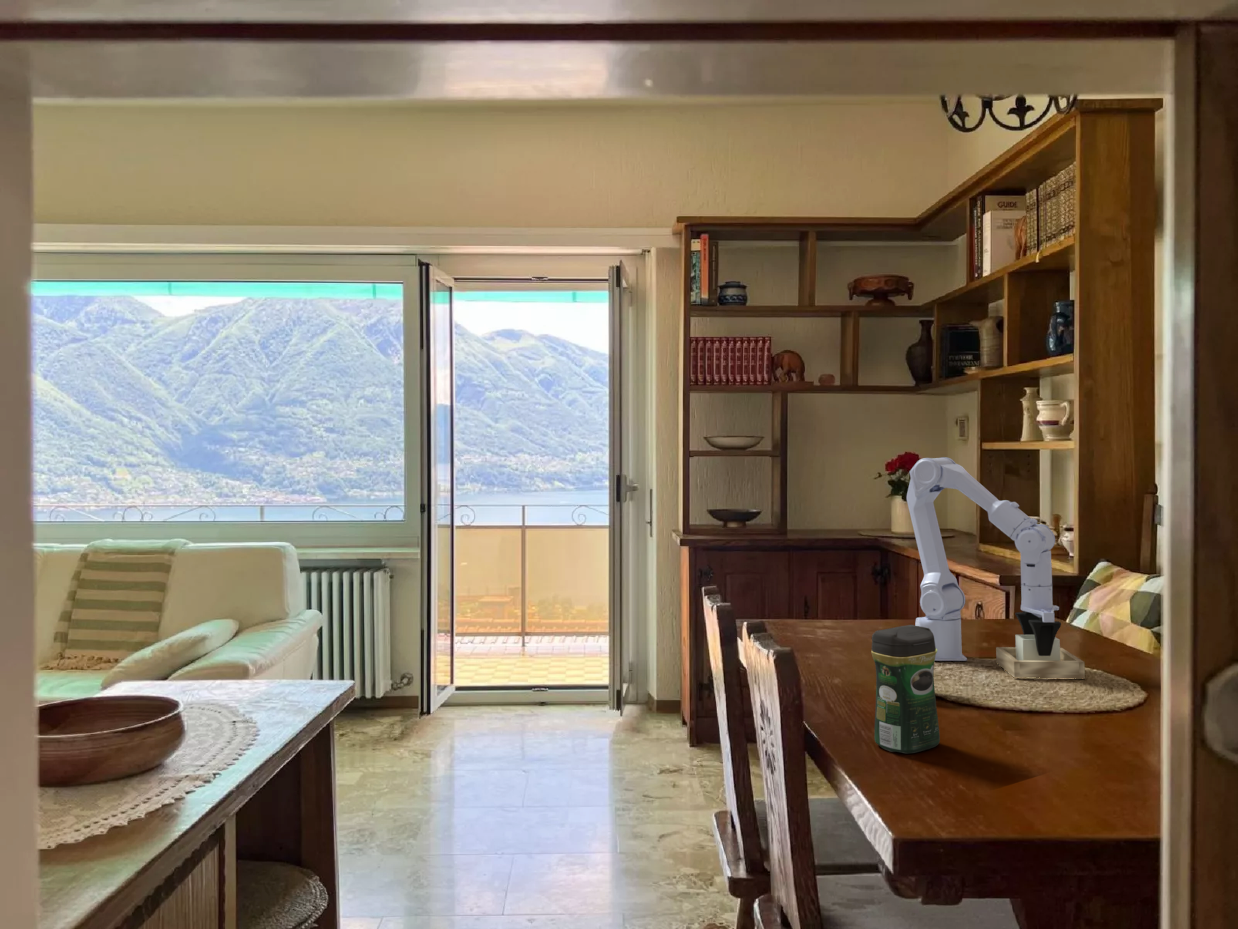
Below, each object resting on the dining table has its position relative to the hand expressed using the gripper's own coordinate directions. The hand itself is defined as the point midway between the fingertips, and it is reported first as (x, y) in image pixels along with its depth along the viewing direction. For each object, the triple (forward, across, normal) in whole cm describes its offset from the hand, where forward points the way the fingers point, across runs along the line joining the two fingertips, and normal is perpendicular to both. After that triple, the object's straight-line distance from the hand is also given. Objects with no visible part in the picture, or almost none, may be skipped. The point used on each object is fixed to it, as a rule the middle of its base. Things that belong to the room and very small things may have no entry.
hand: (1038, 651), depth 178 cm
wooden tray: (+4, 0, 0) cm, 4 cm away
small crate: (+3, 0, 0) cm, 3 cm away
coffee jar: (+4, -48, +34) cm, 59 cm away
